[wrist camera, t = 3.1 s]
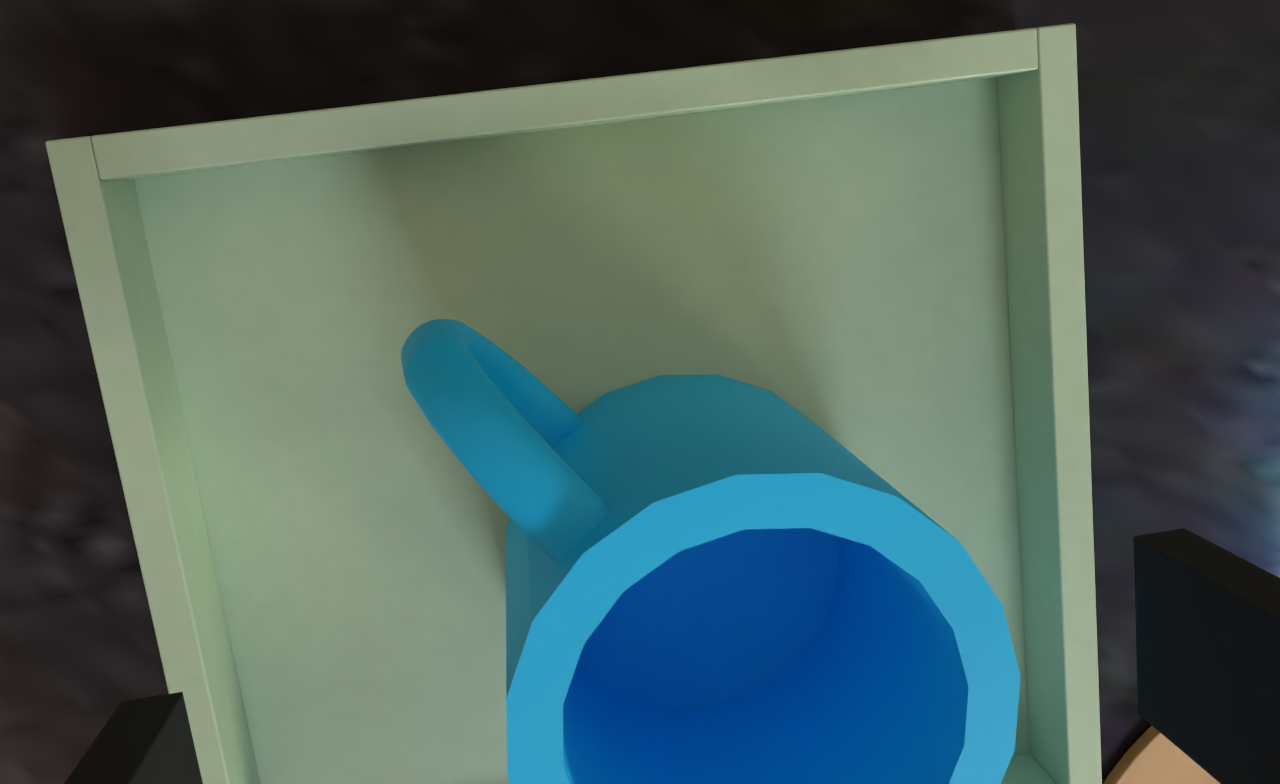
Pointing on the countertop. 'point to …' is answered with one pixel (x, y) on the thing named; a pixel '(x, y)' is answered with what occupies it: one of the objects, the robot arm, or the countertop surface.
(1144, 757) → the coaster
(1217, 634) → the robot arm
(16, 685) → the countertop surface
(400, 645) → the tray
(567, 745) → the mug
